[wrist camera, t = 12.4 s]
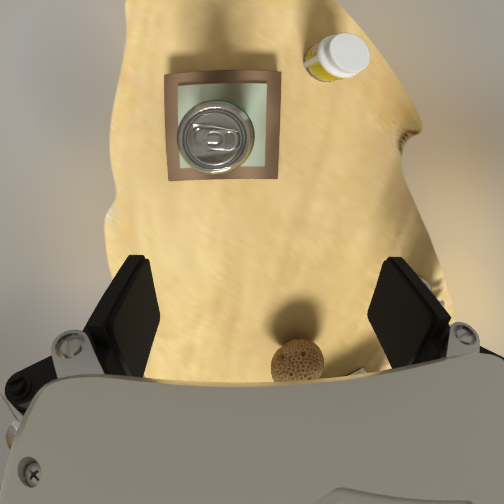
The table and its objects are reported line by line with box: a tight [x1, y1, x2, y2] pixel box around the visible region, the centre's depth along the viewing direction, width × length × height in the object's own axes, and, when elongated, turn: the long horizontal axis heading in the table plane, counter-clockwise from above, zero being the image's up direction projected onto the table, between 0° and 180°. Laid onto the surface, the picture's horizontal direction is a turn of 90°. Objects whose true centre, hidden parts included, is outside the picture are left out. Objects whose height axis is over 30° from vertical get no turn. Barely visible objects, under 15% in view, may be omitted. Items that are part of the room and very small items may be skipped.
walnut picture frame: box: [164, 70, 281, 181], centre depth 27 cm, size 12×12×3 cm
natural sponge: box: [271, 339, 324, 382], centre depth 42 cm, size 9×9×10 cm
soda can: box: [177, 100, 255, 175], centre depth 21 cm, size 5×5×12 cm
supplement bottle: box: [304, 33, 370, 82], centre depth 21 cm, size 5×5×8 cm
